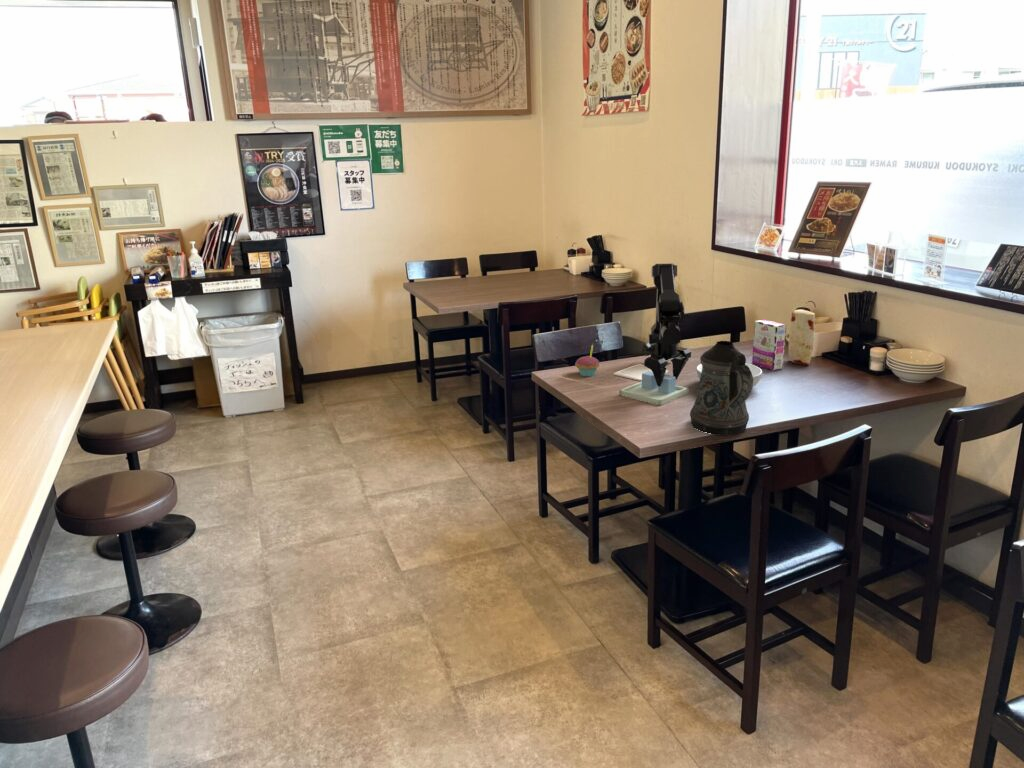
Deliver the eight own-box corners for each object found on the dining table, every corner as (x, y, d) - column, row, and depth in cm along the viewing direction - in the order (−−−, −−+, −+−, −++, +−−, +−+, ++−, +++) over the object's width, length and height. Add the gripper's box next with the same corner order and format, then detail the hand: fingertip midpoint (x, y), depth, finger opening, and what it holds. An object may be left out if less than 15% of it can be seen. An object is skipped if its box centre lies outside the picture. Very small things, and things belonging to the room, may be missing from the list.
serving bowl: (764, 399, 238) (765, 379, 236) (696, 397, 242) (697, 377, 240) (757, 379, 257) (758, 360, 255) (694, 378, 261) (695, 359, 259)
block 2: (664, 388, 248) (665, 374, 247) (675, 391, 246) (675, 376, 244) (657, 391, 246) (658, 377, 244) (668, 394, 243) (668, 379, 242)
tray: (647, 383, 257) (648, 378, 256) (688, 393, 246) (688, 388, 245) (619, 395, 246) (619, 390, 246) (659, 405, 235) (660, 400, 235)
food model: (782, 362, 276) (787, 308, 270) (794, 358, 280) (799, 306, 274) (805, 367, 268) (810, 313, 262) (817, 364, 272) (822, 310, 266)
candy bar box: (783, 369, 268) (787, 324, 263) (773, 371, 266) (776, 326, 261) (761, 362, 277) (764, 318, 272) (751, 363, 275) (754, 320, 270)
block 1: (648, 385, 253) (649, 370, 251) (658, 387, 250) (658, 373, 249) (641, 387, 250) (641, 373, 249) (651, 390, 248) (651, 375, 246)
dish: (638, 366, 276) (638, 363, 276) (668, 373, 267) (668, 370, 267) (613, 376, 266) (613, 373, 266) (643, 383, 257) (643, 380, 257)
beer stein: (705, 411, 229) (709, 332, 221) (767, 424, 217) (773, 341, 209) (679, 427, 217) (682, 344, 209) (743, 442, 205) (749, 354, 197)
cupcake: (599, 372, 271) (599, 340, 268) (599, 379, 263) (599, 346, 260) (575, 372, 272) (575, 340, 269) (575, 379, 264) (574, 346, 261)
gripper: (664, 327, 253) (663, 371, 257) (630, 338, 240) (630, 384, 245) (693, 332, 245) (691, 377, 250) (659, 344, 233) (658, 391, 237)
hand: (667, 382), depth 246 cm, fingers open, 9 cm apart
